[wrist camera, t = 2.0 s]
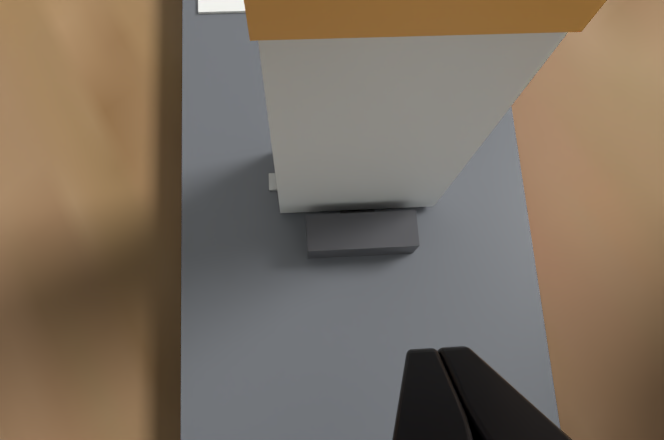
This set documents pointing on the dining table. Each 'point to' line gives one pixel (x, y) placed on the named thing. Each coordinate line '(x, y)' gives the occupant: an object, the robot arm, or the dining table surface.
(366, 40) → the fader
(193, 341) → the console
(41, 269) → the dining table surface
